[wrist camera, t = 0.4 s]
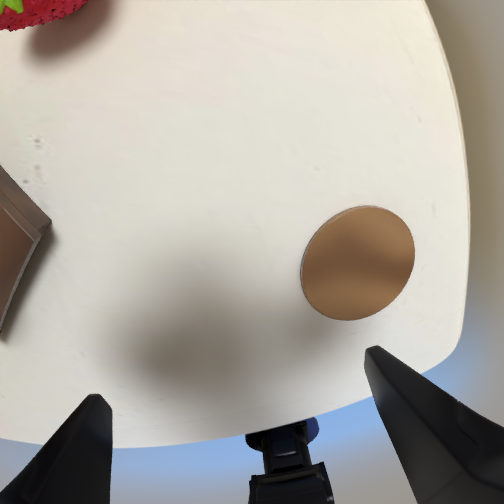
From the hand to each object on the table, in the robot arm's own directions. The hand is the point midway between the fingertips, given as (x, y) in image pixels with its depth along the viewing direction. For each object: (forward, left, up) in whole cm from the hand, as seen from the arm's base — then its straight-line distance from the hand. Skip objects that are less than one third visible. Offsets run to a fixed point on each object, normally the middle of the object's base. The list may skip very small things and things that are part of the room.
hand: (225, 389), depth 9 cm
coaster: (-4, -9, -12) cm, 15 cm away
